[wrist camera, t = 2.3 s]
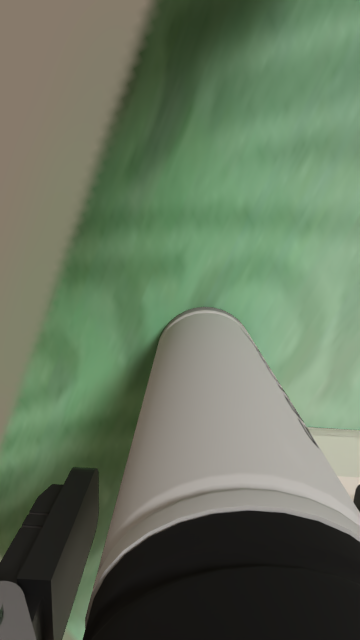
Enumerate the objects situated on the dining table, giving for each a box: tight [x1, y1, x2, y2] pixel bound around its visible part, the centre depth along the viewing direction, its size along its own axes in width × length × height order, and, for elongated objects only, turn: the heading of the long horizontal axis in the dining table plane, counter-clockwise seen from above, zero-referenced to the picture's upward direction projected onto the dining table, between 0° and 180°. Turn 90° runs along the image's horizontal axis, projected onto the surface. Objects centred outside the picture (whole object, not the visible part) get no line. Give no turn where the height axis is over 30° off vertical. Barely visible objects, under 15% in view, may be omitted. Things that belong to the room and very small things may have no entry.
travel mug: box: [83, 307, 360, 640], centre depth 13 cm, size 6×7×20 cm
